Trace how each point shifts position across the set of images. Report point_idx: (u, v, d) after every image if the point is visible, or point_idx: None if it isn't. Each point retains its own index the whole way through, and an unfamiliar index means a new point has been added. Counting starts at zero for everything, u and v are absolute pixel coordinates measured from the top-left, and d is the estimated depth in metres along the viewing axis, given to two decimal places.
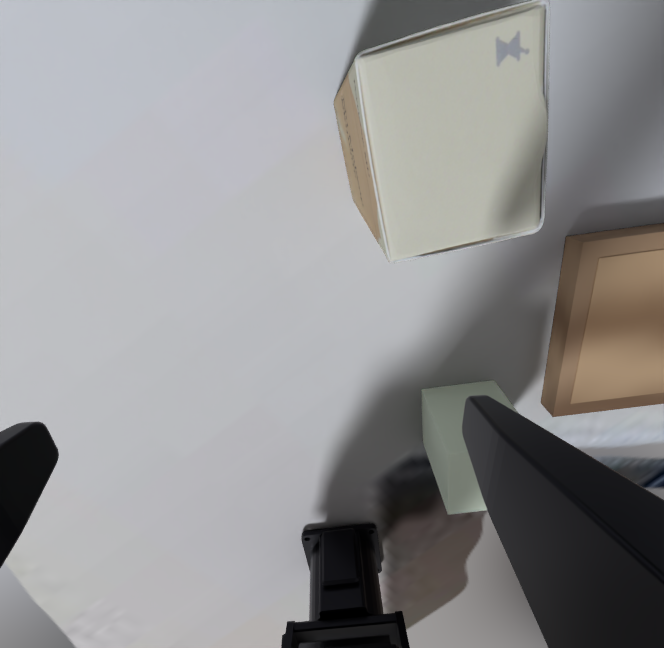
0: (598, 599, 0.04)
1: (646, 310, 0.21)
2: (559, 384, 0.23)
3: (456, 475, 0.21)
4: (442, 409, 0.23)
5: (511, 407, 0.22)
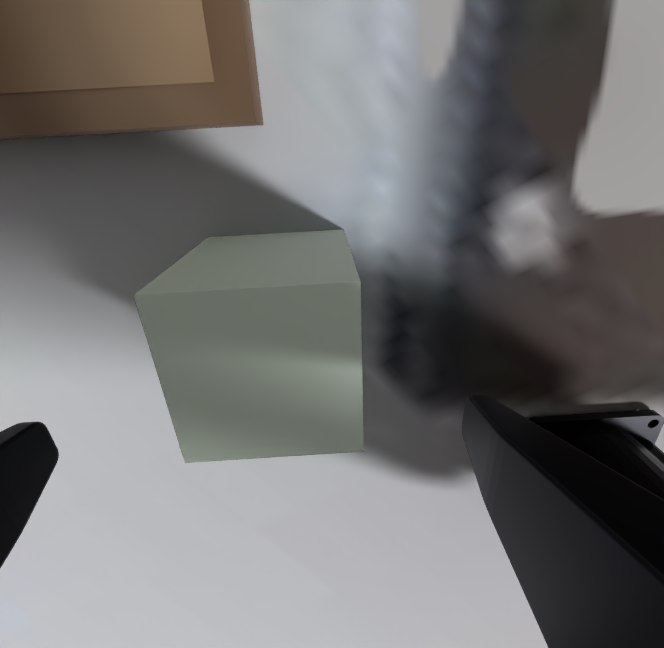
0: (598, 599, 0.04)
1: None
2: (163, 122, 0.10)
3: (244, 446, 0.10)
4: None
5: None
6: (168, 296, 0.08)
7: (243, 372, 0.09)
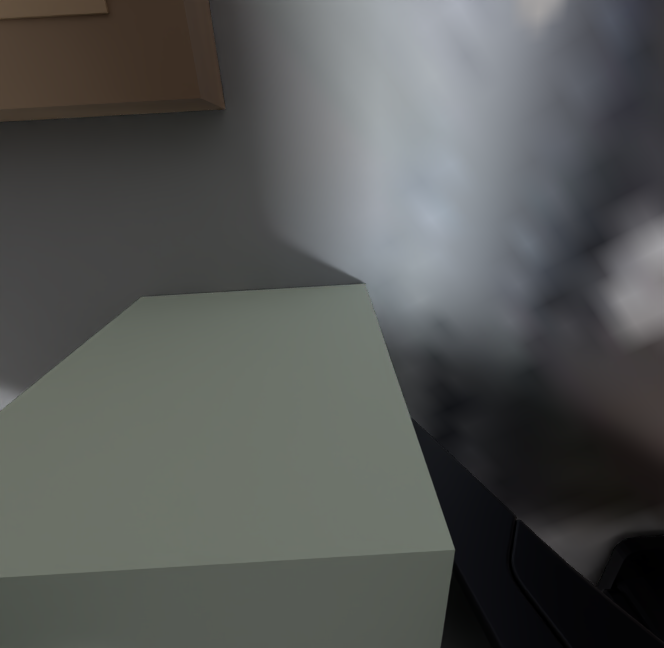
0: None
1: None
2: (17, 100, 0.05)
3: None
4: None
5: None
6: None
7: None
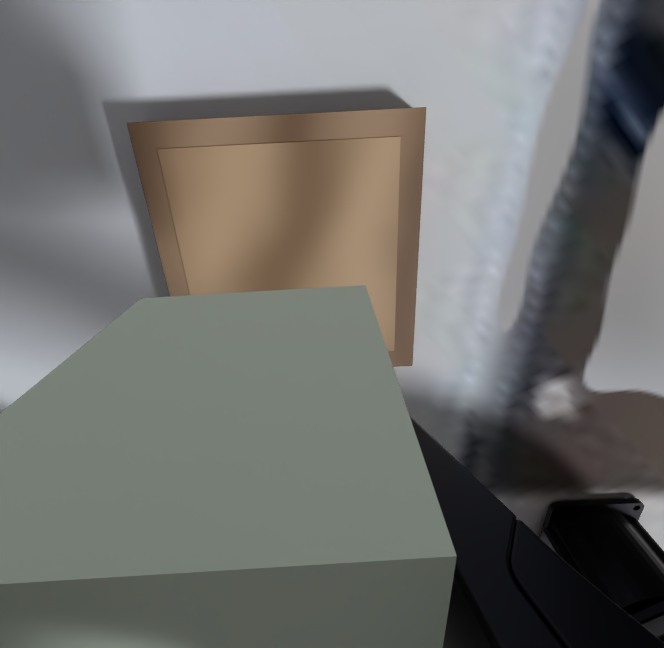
0: None
1: None
2: None
3: None
4: None
5: None
6: None
7: None
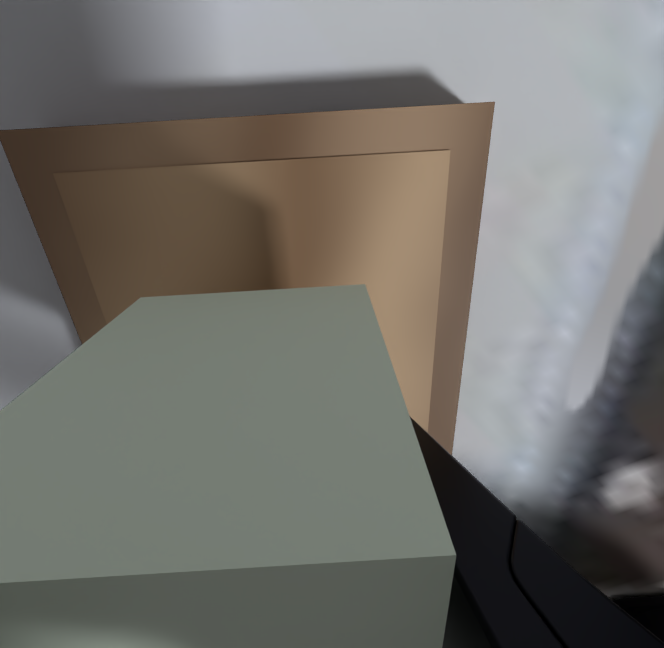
0: None
1: None
2: None
3: None
4: None
5: None
6: None
7: None
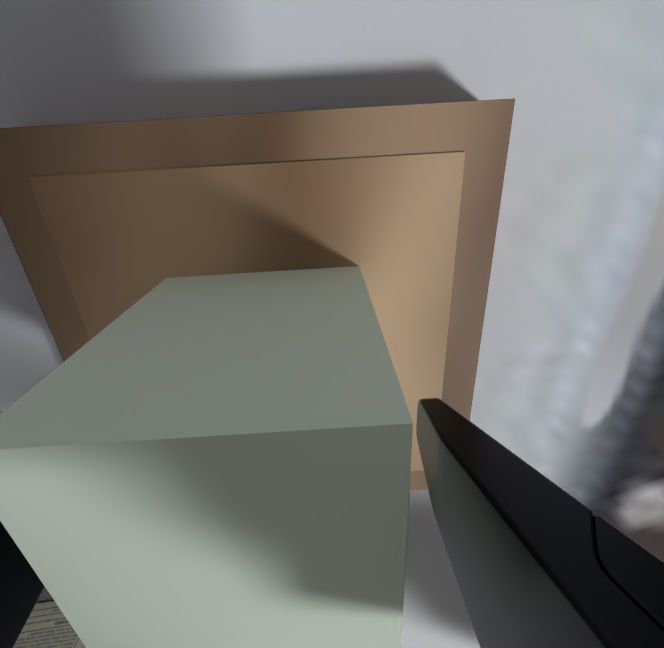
0: (515, 604, 0.04)
1: None
2: None
3: None
4: None
5: None
6: (29, 449, 0.04)
7: (188, 562, 0.05)
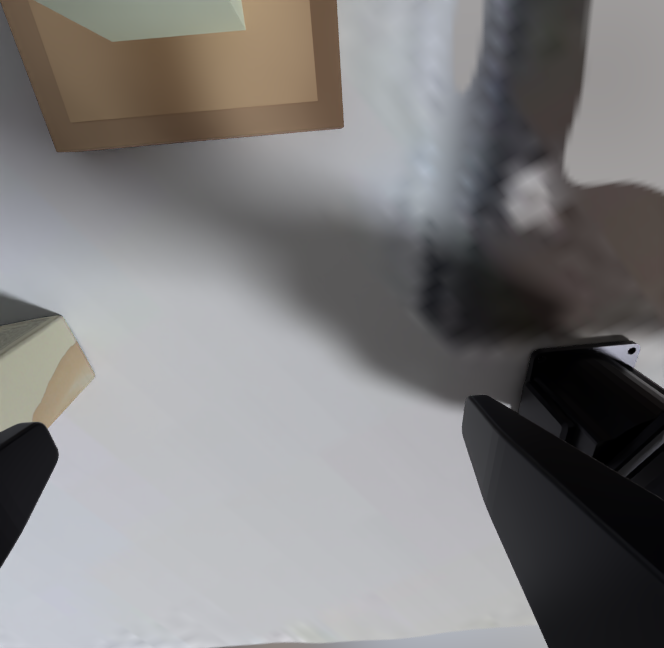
0: (598, 599, 0.04)
1: None
2: (280, 129, 0.15)
3: None
4: None
5: None
6: None
7: None
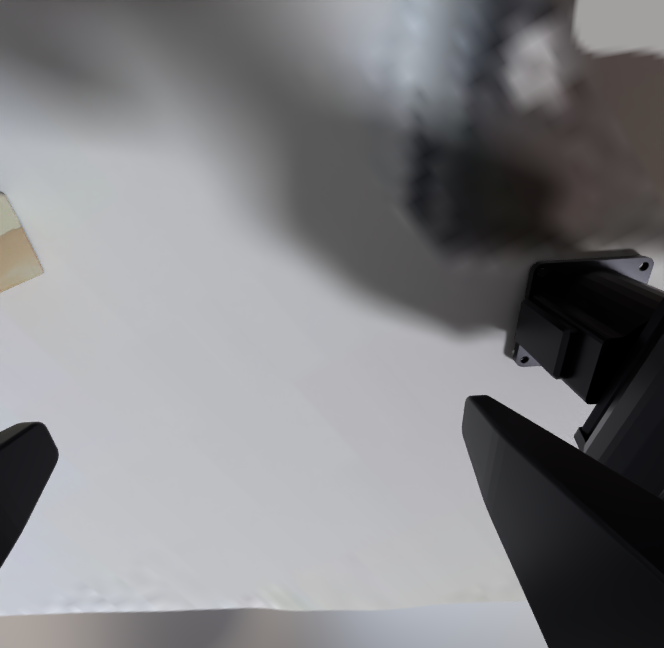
0: (598, 599, 0.04)
1: None
2: None
3: None
4: None
5: None
6: None
7: None
